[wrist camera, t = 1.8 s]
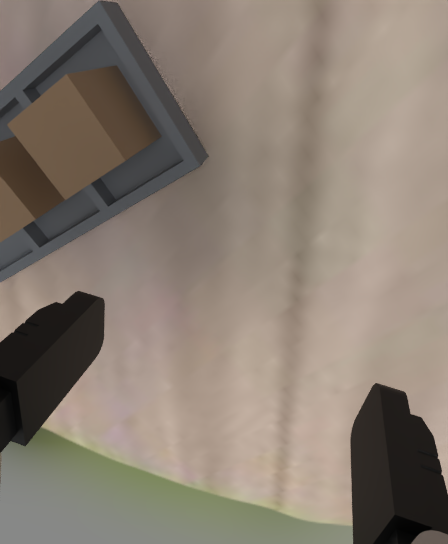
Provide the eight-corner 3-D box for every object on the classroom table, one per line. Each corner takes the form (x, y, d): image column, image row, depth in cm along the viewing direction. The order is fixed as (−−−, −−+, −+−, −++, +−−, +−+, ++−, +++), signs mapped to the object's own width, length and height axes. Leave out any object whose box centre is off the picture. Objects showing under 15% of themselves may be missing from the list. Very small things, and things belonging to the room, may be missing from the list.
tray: (-84, 182, 34) (-167, 213, 29) (117, 2, 24) (52, -6, 18) (2, 277, 38) (-55, 322, 32) (208, 156, 28) (179, 189, 22)
